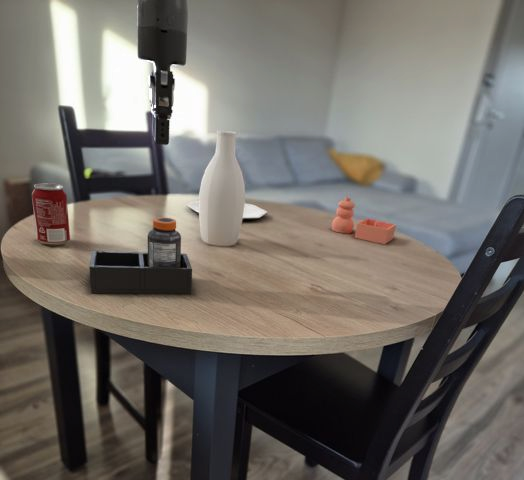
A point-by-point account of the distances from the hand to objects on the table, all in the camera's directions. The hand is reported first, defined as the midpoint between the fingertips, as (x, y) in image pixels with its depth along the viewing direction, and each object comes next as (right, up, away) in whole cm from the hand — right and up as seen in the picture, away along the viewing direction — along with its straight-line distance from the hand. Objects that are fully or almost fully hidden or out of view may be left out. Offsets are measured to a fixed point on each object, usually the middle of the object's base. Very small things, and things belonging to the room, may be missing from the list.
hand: (160, 141), depth 81 cm
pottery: (+47, -1, +63) cm, 78 cm away
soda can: (-29, -12, +25) cm, 40 cm away
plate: (+6, +7, +69) cm, 70 cm away
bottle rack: (-5, -23, +8) cm, 25 cm away
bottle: (+6, -8, +40) cm, 41 cm away
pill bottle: (-1, -22, +9) cm, 24 cm away
